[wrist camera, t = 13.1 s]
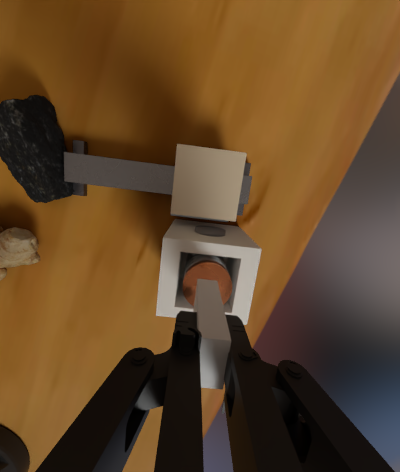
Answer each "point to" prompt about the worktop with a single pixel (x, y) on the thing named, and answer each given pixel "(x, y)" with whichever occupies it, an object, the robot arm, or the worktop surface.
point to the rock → (34, 147)
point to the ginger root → (17, 248)
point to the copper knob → (206, 275)
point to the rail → (127, 174)
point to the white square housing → (210, 243)
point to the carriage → (207, 183)
